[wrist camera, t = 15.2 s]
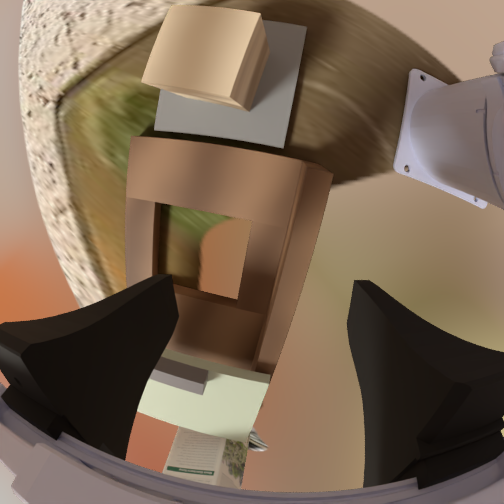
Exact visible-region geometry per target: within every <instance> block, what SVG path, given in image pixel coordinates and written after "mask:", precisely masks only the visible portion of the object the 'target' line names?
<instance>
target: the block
mask: <svg viewBox="0 0 504 504" xmlns="http://www.w3.org/2000/svg"><path fill="white" fill-rule="evenodd" d="M269 54H270V49H269V45H268V41H267V37H266V33H265V29H264V25H263V21H262V17H261V13H256V12H250V11H244V10H237V9H229V8H220V7H209V6H192V5H171V7H170V9H169V11H168V13H167V15H166V18H165V20H164V22H163V25H162V27H161V29H160V32H159V34H158V37H157V39H156V42H155V44H154V47H153V49H152V52H151V55H150V58H149V60H148V63H147V66H146V69H145V72H144V75H143V78H142V83H145V84H148V85H151V86H154V87H157V88H160V89H163V90H166V91H169V92H172V93H175V94H177V95H180V96H183V97H185V98H191V99H196V100H201V101H206V102H210V103H215V104H219V105H223V106H228V107H232V108H236V109H240V110H243V111H247V112H250V109H251V106H252V103H253V100H254V97H255V94H256V91H257V88H258V85H259V82H260V79H261V76H262V73H263V71H264V68H265V65H266V62H267V59H268V57H269Z"/></svg>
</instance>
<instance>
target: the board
mask: <svg viewBox="0 0 504 504" xmlns="http://www.w3.org/2000/svg"><path fill="white" fill-rule="evenodd" d="M333 175H334V174H333V173H331V172H330V171H329V170H327V169H326V168H324V167H323V166H321V165H320V164H317V163H313V162H308V161H304V160H300V159H295V158H291V157H286V156H282V155H277V154H272V153H267V152H262V151H256V150H251V149H245V148H239V147H233V146H227V145H220V144H214V143H206V142H199V141H190V140H181V139H172V138H161V137H148V136H131V142H130V151H129V161H128V173H127V188H126V212H125V258H126V281H127V288H128V287H130V286H132V285H134V284H136V283H138V282H140V281H143V280H145V279H147V278H149V277H151V276H154V275H157V274H158V261H159V236H160V219H161V205H162V203H164V204H169V205H175V206H180V207H185V208H190V209H195V210H201V211H206V212H211V213H216V214H221V215H226V216H230V217H235V218H240V219H245V220H250V221H252V226H251V231H250V236H249V242H248V246H247V252H246V258H245V262H244V268H243V273H242V278H241V284H240V289H239V295H238V300H236V299H232V298H228V297H224V296H220V295H216V294H212V293H208V292H204V291H200V290H196V289H192V288H188V287H184V286H180V285H176V284H173V286H174V291H175V297H176V302H177V307H178V312H179V319H178V322H177V324H176V327H175V330H174V332H173V335H172V337H171V339H170V341H169V343H168V344H167V346H166V349H169V350H172V351H176V352H179V353H182V354H186V355H189V356H193V357H196V358H200V359H204V360H207V361H211V362H215V363H219V364H223V365H227V366H231V367H236V368H240V369H244V370H249V371H254V372H259V373H264V374H269V375H270V381H271V378H272V376H273V373H274V370H275V367H276V365H277V362H278V359H279V356H280V354H281V351H282V348H283V345H284V342H285V339H286V337H287V334H288V331H289V328H290V325H291V322H292V319H293V316H294V313H295V310H296V307H297V303H298V301H299V297H300V294H301V291H302V288H303V285H304V281H305V278H306V275H307V272H308V268H309V265H310V261H311V258H312V255H313V251H314V247H315V244H316V240H317V237H318V233H319V230H320V226H321V222H322V219H323V215H324V211H325V207H326V203H327V199H328V195H329V191H330V187H331V183H332V179H333ZM269 384H270V383H269Z"/></svg>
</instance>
